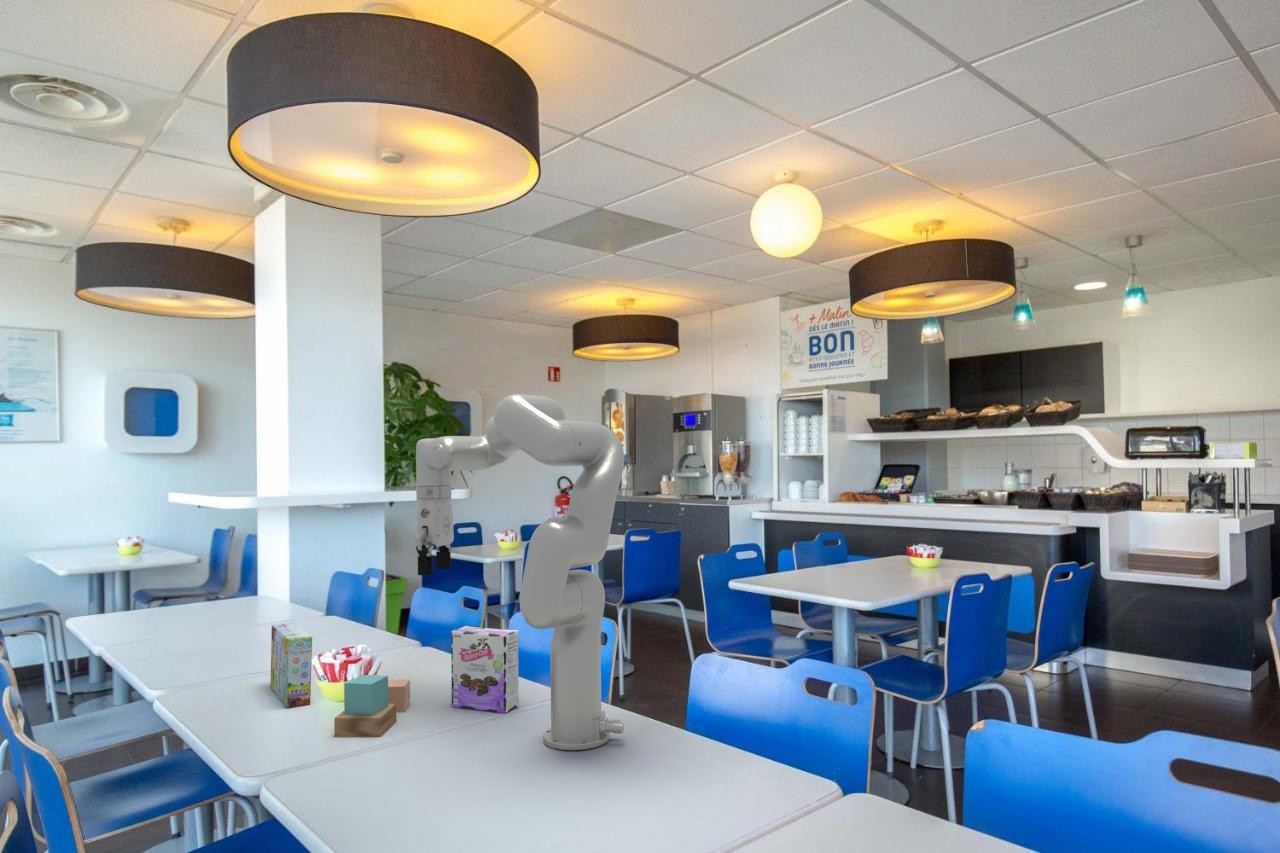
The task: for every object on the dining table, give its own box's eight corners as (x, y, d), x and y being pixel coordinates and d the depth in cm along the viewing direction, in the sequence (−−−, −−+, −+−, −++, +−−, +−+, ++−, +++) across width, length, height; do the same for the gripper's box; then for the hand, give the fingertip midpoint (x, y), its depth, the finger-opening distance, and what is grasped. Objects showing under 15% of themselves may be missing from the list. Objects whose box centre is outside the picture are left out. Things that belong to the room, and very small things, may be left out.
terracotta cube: (410, 704, 173) (410, 679, 173) (404, 712, 168) (404, 686, 168) (384, 705, 173) (384, 680, 173) (378, 713, 167) (378, 687, 168)
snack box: (313, 704, 174) (313, 635, 175) (285, 709, 171) (286, 639, 172) (293, 683, 192) (294, 620, 193) (268, 687, 189) (269, 623, 189)
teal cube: (388, 706, 160) (388, 675, 160) (371, 715, 154) (371, 684, 154) (361, 704, 161) (361, 674, 162) (344, 713, 156) (344, 683, 156)
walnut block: (396, 723, 162) (396, 703, 162) (380, 738, 153) (380, 717, 153) (353, 723, 162) (353, 703, 162) (334, 739, 153) (334, 718, 153)
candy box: (450, 707, 171) (449, 630, 171) (465, 699, 176) (465, 625, 177) (505, 714, 165) (504, 634, 166) (519, 706, 171) (519, 629, 172)
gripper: (434, 495, 166) (434, 577, 165) (464, 492, 183) (465, 567, 182) (400, 496, 167) (401, 577, 166) (433, 493, 184) (434, 567, 183)
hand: (434, 572), depth 174 cm, fingers open, 9 cm apart
